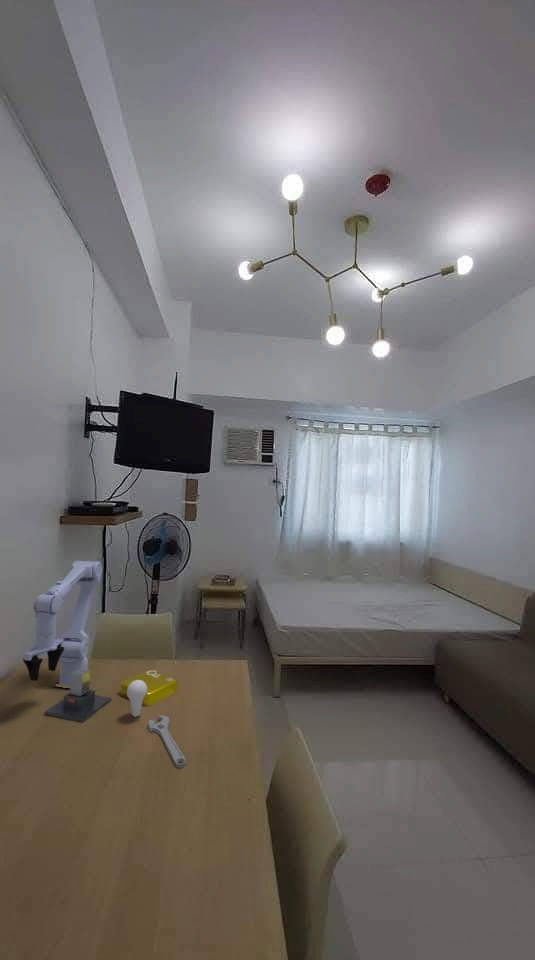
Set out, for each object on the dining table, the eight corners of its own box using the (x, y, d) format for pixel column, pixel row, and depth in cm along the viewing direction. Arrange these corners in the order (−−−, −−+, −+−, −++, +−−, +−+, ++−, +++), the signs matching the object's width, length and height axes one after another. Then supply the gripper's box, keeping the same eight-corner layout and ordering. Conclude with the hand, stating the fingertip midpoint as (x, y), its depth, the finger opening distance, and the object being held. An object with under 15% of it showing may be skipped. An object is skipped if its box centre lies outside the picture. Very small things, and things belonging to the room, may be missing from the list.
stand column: (78, 692, 136) (79, 668, 137) (90, 694, 135) (91, 669, 136) (69, 698, 132) (71, 673, 133) (81, 700, 131) (82, 675, 132)
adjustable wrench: (187, 768, 107) (187, 761, 107) (162, 774, 104) (162, 767, 104) (166, 719, 129) (167, 713, 129) (145, 723, 127) (146, 717, 127)
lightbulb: (148, 712, 133) (150, 677, 133) (141, 722, 126) (143, 685, 127) (130, 710, 133) (132, 675, 134) (122, 720, 127) (124, 684, 128)
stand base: (75, 694, 142) (76, 679, 142) (111, 700, 139) (111, 686, 139) (44, 714, 129) (45, 698, 129) (82, 722, 125) (83, 705, 125)
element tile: (117, 694, 144) (118, 680, 144) (150, 680, 157) (151, 667, 157) (147, 708, 136) (147, 693, 136) (179, 691, 148) (180, 677, 149)
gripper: (38, 640, 126) (35, 686, 125) (72, 627, 140) (69, 667, 139) (19, 638, 127) (16, 683, 127) (54, 624, 141) (52, 665, 141)
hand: (43, 674), depth 133 cm, fingers open, 7 cm apart
